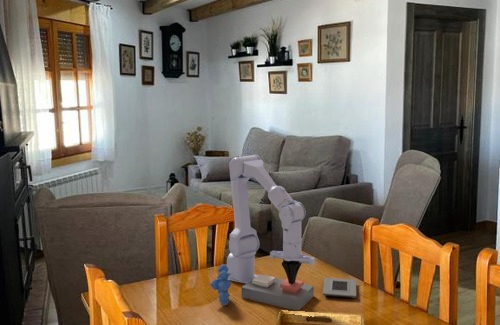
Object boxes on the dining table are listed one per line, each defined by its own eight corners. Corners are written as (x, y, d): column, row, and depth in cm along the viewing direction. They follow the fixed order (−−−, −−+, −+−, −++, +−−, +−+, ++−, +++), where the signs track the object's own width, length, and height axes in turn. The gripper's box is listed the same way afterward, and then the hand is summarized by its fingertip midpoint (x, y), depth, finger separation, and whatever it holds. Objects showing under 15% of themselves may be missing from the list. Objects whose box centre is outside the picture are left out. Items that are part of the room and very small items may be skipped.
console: (241, 297, 160) (241, 287, 160) (259, 284, 171) (259, 274, 170) (298, 310, 151) (298, 300, 150) (313, 296, 161) (313, 285, 161)
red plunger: (280, 299, 157) (280, 284, 156) (287, 293, 162) (287, 277, 161) (296, 303, 154) (296, 287, 154) (303, 296, 159) (303, 281, 158)
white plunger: (252, 295, 162) (252, 279, 161) (260, 288, 167) (260, 274, 166) (267, 298, 159) (267, 283, 159) (275, 292, 164) (275, 277, 163)
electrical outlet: (356, 302, 158) (356, 294, 157) (322, 299, 160) (322, 292, 159) (355, 285, 170) (355, 279, 170) (324, 283, 172) (324, 276, 172)
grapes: (210, 294, 163) (209, 259, 161) (230, 294, 163) (230, 259, 161) (210, 310, 151) (209, 273, 149) (232, 309, 152) (232, 272, 150)
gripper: (265, 241, 155) (265, 282, 157) (308, 248, 148) (308, 291, 150) (275, 235, 161) (275, 275, 164) (317, 242, 154) (316, 283, 156)
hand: (291, 282), depth 157 cm, fingers closed, pressing on red plunger
